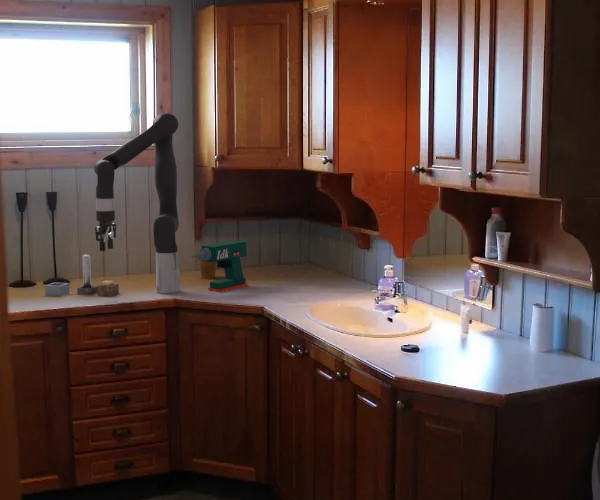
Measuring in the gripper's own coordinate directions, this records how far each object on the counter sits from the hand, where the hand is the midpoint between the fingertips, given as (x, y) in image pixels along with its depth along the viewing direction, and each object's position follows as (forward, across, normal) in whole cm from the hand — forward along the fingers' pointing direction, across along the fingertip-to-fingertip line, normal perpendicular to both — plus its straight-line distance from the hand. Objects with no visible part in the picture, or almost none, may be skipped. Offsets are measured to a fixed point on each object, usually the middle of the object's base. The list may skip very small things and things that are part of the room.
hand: (106, 249), depth 335 cm
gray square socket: (+20, -5, +20) cm, 29 cm away
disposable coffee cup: (+20, +51, -24) cm, 60 cm away
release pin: (+16, 0, 0) cm, 16 cm away
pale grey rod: (+19, 0, +9) cm, 21 cm away
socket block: (+20, 0, +4) cm, 20 cm away
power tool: (+20, +24, -40) cm, 50 cm away
